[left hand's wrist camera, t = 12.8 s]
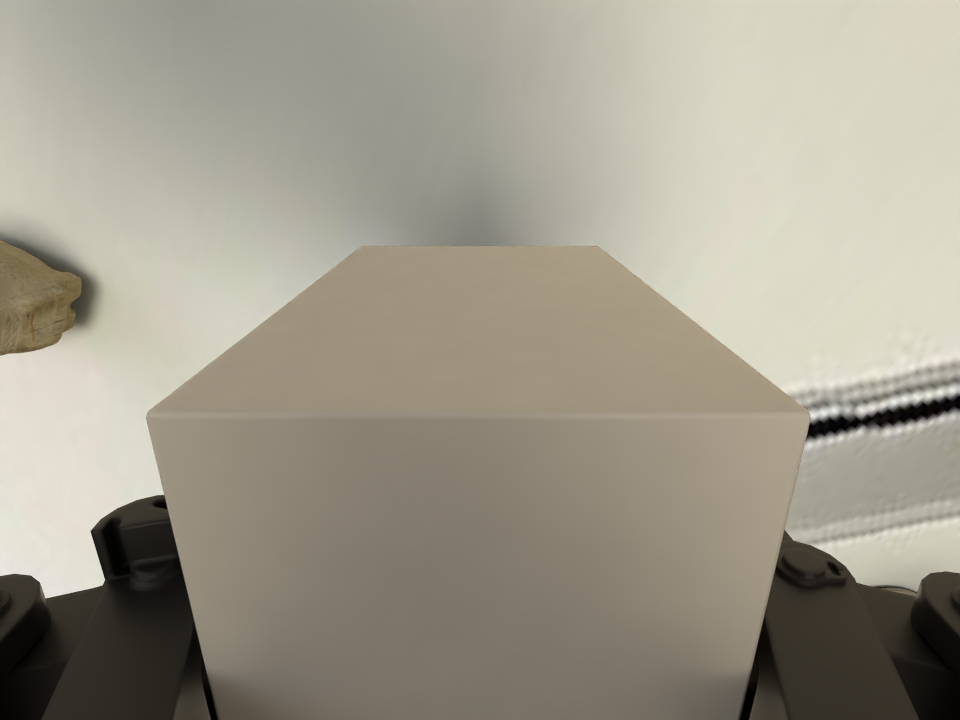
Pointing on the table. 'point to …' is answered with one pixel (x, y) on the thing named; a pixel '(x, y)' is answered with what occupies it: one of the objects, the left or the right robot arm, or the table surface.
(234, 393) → the box
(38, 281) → the sculpture
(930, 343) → the table surface
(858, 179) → the table surface
